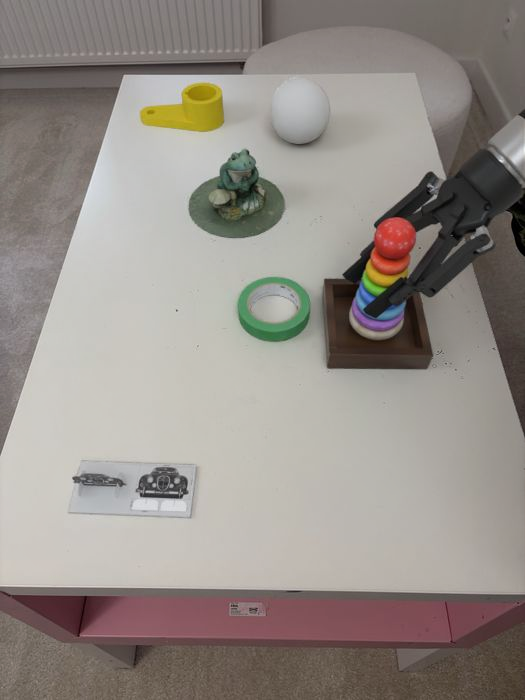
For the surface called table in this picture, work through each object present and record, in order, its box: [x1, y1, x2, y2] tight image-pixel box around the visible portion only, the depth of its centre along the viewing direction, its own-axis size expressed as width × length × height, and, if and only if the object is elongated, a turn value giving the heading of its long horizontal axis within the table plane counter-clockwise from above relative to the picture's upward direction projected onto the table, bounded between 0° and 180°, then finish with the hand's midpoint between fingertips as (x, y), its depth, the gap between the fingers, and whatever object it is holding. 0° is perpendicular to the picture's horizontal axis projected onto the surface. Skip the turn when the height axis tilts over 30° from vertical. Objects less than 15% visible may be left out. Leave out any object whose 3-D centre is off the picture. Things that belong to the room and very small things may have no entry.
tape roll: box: [237, 276, 311, 342], centre depth 80 cm, size 11×11×3 cm
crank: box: [139, 82, 225, 132], centre depth 110 cm, size 18×8×6 cm, turn 87°
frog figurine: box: [188, 147, 286, 239], centre depth 92 cm, size 18×18×12 cm
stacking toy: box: [349, 217, 417, 340], centre depth 70 cm, size 8×8×19 cm
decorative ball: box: [269, 76, 331, 145], centre depth 103 cm, size 12×12×12 cm
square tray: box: [321, 278, 434, 370], centre depth 78 cm, size 14×14×4 cm
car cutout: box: [67, 460, 198, 519], centre depth 63 cm, size 15×7×4 cm, turn 88°
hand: (359, 295), depth 71 cm, fingers closed on stacking toy, 6 cm apart
